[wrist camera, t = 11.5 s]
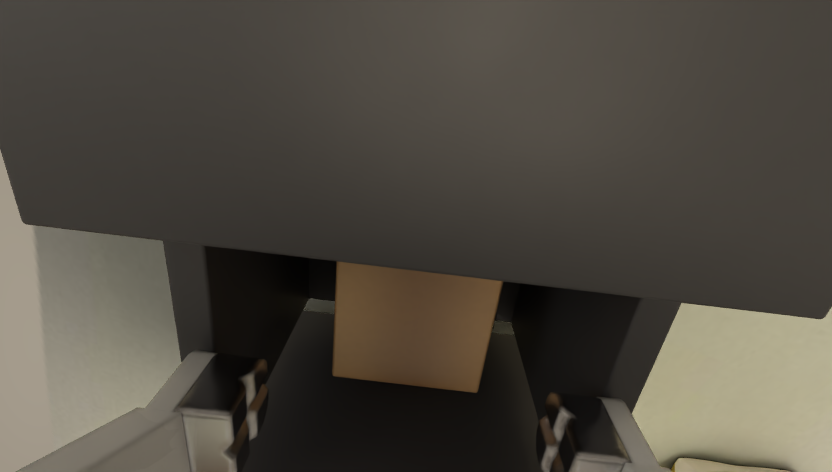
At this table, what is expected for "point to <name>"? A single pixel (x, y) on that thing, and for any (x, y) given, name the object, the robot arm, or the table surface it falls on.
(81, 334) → the table surface
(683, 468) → the juice carton
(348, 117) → the small drawer cabinet
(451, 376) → the block
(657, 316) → the open drawer with knob
